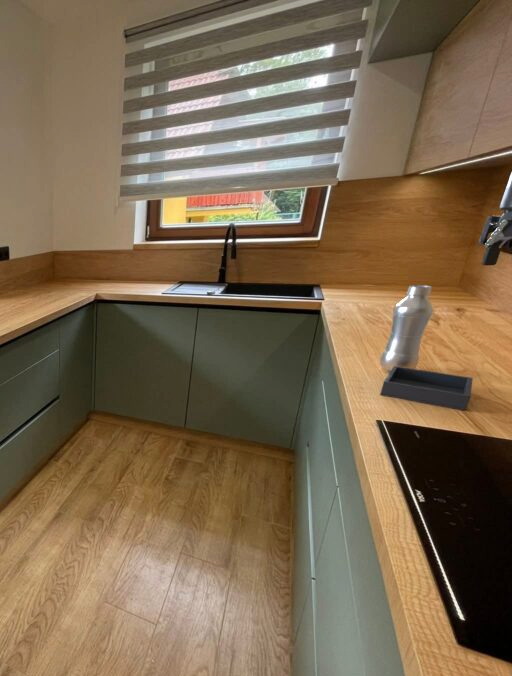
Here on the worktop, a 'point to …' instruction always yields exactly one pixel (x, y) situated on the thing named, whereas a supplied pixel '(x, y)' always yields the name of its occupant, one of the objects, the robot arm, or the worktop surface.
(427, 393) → the tray
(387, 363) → the silver bottle
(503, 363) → the worktop surface
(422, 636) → the worktop surface
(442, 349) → the worktop surface
